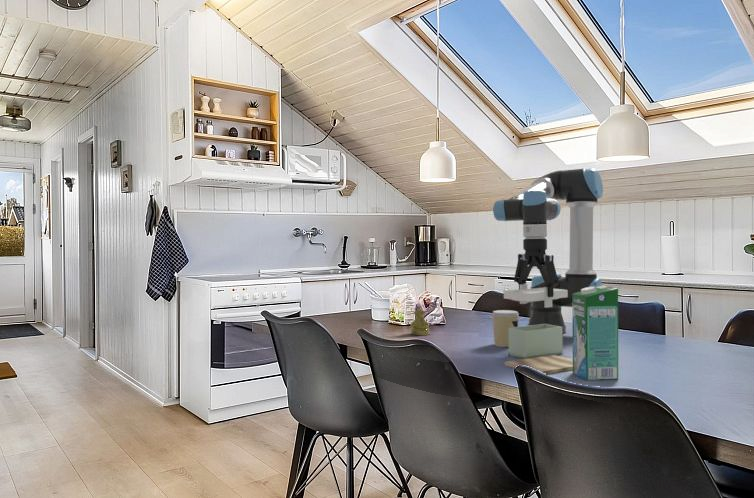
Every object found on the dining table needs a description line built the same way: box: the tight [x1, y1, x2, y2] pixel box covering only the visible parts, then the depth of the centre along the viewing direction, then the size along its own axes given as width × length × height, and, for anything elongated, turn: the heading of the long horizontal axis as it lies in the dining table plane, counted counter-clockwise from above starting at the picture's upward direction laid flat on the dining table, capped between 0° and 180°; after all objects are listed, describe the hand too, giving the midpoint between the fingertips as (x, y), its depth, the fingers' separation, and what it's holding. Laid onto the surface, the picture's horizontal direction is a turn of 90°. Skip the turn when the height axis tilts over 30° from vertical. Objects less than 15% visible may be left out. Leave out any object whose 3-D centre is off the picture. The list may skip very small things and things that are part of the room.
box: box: [508, 324, 564, 359], centre depth 192 cm, size 16×8×9 cm, turn 119°
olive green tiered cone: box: [410, 308, 430, 336], centre depth 235 cm, size 7×7×10 cm
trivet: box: [504, 355, 573, 375], centre depth 176 cm, size 20×15×1 cm
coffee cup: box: [491, 309, 520, 348], centre depth 209 cm, size 9×9×12 cm
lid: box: [503, 288, 568, 303], centre depth 192 cm, size 18×10×3 cm, turn 119°
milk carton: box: [571, 284, 619, 381], centre depth 162 cm, size 9×9×25 cm
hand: (535, 305), depth 192 cm, fingers closed on lid, 10 cm apart
